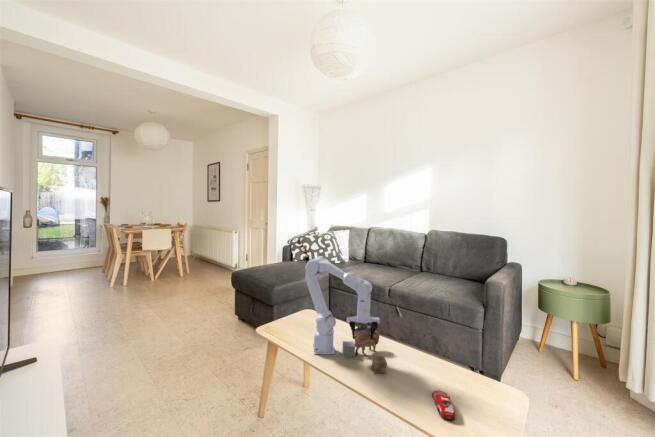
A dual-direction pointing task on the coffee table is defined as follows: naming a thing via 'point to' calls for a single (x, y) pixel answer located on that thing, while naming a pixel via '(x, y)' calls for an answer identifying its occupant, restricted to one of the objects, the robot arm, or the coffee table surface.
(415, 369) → the coffee table surface
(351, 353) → the gray block
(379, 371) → the walnut block
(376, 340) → the lion figurine
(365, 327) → the lighter
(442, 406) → the race car
